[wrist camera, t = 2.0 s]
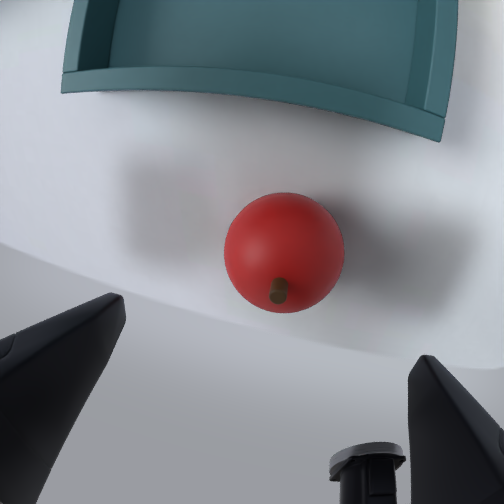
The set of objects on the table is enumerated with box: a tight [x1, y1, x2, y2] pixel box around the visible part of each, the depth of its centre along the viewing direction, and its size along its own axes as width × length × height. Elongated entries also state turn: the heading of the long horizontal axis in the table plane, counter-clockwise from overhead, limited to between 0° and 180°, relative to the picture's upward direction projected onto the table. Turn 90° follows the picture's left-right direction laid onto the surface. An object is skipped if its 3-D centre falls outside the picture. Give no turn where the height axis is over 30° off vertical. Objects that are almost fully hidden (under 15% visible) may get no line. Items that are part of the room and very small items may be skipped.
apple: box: [224, 193, 344, 313], centre depth 13 cm, size 5×5×6 cm
